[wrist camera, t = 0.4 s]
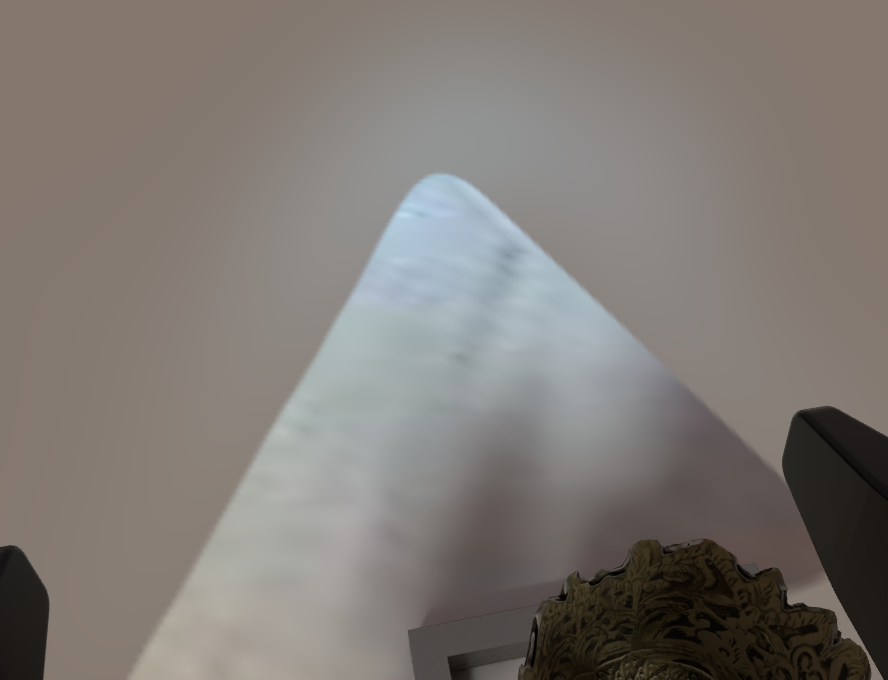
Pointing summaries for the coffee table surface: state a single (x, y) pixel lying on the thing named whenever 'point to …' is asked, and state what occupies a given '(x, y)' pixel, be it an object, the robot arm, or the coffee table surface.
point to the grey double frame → (475, 641)
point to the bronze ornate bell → (685, 624)
